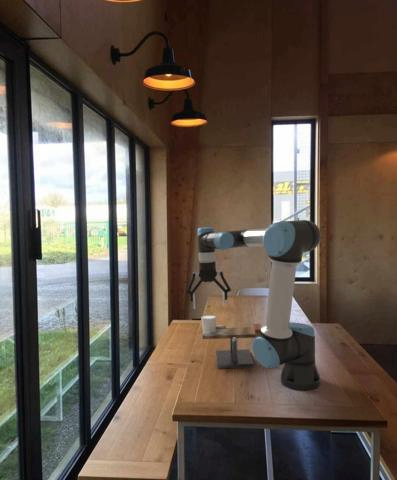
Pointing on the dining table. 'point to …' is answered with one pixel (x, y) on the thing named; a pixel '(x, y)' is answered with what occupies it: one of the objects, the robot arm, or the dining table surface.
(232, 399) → the dining table surface
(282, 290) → the robot arm
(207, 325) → the shot glass
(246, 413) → the dining table surface
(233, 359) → the stand
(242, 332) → the beam
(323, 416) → the dining table surface
